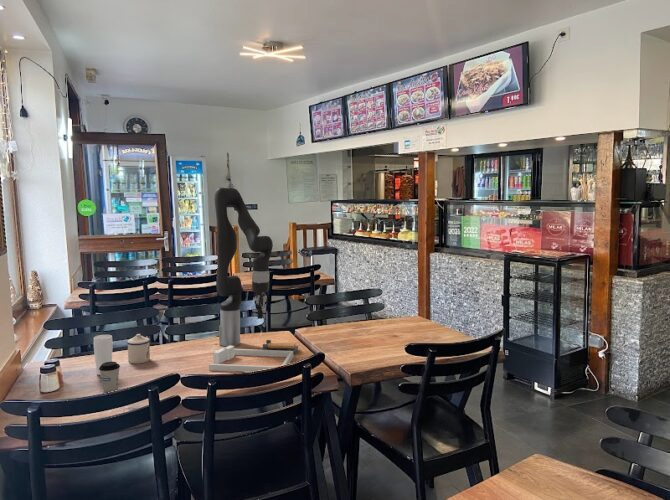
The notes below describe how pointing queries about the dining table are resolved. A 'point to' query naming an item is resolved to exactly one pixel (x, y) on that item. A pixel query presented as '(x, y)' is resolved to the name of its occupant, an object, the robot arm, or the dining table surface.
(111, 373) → the coffee cup
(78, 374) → the dining table surface
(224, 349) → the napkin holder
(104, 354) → the drinking glass
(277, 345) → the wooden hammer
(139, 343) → the teacup with lid
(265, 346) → the pedal base
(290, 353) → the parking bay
